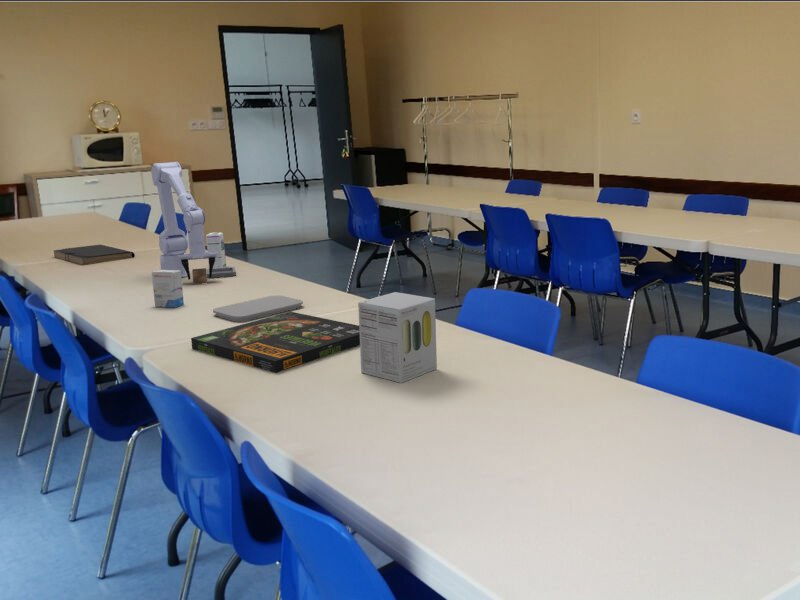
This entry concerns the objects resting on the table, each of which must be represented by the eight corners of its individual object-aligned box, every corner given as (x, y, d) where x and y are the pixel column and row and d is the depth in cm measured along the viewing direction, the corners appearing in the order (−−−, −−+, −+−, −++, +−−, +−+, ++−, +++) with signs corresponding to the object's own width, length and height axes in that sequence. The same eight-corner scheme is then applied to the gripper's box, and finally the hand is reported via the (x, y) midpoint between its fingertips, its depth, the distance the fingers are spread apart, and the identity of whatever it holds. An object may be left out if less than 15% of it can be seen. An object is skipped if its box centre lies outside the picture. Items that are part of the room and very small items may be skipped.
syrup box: (223, 269, 329) (220, 234, 326) (208, 270, 330) (205, 234, 326) (226, 266, 335) (223, 231, 332) (212, 267, 335) (209, 232, 332)
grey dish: (207, 278, 312) (206, 274, 311) (206, 273, 322) (206, 269, 322) (236, 276, 314) (235, 271, 314) (234, 271, 325) (234, 266, 324)
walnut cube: (193, 284, 302) (192, 271, 301) (193, 282, 307) (192, 269, 306) (207, 283, 303) (206, 270, 302) (207, 281, 308) (206, 268, 307)
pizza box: (376, 341, 221) (375, 329, 220) (276, 375, 196) (275, 361, 195) (291, 323, 244) (290, 311, 243) (192, 350, 219) (191, 338, 218)
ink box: (185, 304, 271) (181, 269, 268) (176, 308, 266) (172, 272, 263) (163, 303, 273) (159, 268, 271) (154, 306, 269) (150, 271, 266)
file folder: (52, 249, 373) (103, 243, 389) (53, 258, 374) (104, 251, 390) (80, 257, 349) (134, 250, 365) (81, 266, 350) (135, 259, 366)
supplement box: (401, 384, 185) (398, 309, 181) (360, 373, 193) (356, 301, 189) (438, 369, 194) (436, 297, 190) (397, 359, 203) (394, 291, 199)
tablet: (209, 316, 255) (208, 309, 254) (276, 301, 272) (276, 294, 272) (239, 324, 243) (238, 317, 243) (307, 308, 261) (306, 301, 261)
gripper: (176, 245, 296) (179, 281, 299) (216, 242, 299) (220, 278, 302) (176, 242, 303) (180, 278, 306) (216, 239, 306) (219, 275, 309)
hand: (200, 278), depth 305 cm, fingers open, 7 cm apart
